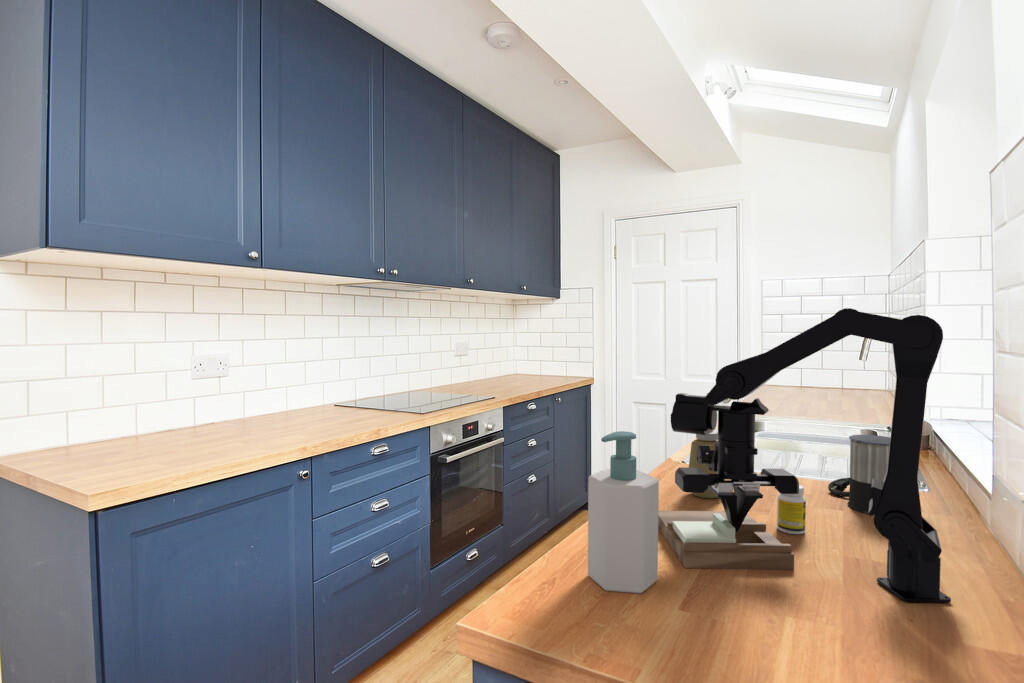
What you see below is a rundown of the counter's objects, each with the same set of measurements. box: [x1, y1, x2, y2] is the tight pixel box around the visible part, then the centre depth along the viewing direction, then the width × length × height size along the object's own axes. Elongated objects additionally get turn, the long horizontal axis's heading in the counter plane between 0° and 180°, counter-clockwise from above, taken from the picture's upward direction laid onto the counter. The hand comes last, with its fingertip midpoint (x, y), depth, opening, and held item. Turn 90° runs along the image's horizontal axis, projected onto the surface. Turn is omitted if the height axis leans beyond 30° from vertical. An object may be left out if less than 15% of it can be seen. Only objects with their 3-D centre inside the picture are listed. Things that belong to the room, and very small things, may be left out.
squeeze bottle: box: [688, 430, 726, 499], centre depth 126 cm, size 8×8×18 cm
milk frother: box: [827, 434, 891, 514], centre depth 121 cm, size 14×16×15 cm
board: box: [658, 510, 795, 570], centre depth 98 cm, size 20×17×3 cm
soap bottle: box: [587, 430, 660, 594], centre depth 84 cm, size 10×9×22 cm
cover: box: [673, 513, 736, 543], centre depth 94 cm, size 8×8×3 cm
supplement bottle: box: [776, 484, 807, 535], centre depth 105 cm, size 5×5×8 cm
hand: (734, 531), depth 94 cm, fingers closed
